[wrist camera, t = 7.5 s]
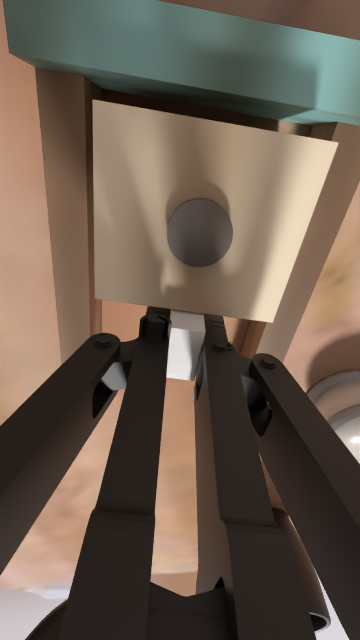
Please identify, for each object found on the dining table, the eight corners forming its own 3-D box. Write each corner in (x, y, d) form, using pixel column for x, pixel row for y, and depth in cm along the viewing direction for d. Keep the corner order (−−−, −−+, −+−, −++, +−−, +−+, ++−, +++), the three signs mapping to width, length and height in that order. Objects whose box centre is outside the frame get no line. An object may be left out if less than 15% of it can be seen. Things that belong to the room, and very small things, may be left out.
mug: (267, 478, 32) (295, 592, 24) (308, 523, 37) (343, 630, 29) (205, 499, 34) (210, 609, 26) (251, 539, 39) (268, 641, 31)
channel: (78, 394, 26) (57, 444, 21) (59, 26, 13) (-2, -32, 9) (242, 413, 26) (253, 465, 22) (366, 84, 14) (444, 57, 10)
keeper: (124, 249, 18) (90, 305, 12) (130, 119, 15) (86, 96, 8) (245, 267, 19) (276, 329, 12) (279, 144, 15) (347, 142, 9)
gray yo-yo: (291, 422, 27) (306, 462, 24) (321, 364, 23) (344, 401, 20) (363, 431, 28) (388, 471, 24) (404, 375, 24) (440, 413, 20)
